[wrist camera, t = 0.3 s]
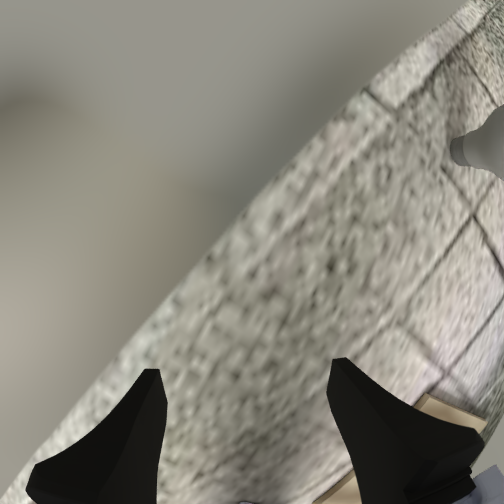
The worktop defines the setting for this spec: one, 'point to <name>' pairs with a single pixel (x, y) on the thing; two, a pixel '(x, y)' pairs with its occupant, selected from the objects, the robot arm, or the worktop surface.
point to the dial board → (346, 491)
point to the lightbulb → (483, 145)
